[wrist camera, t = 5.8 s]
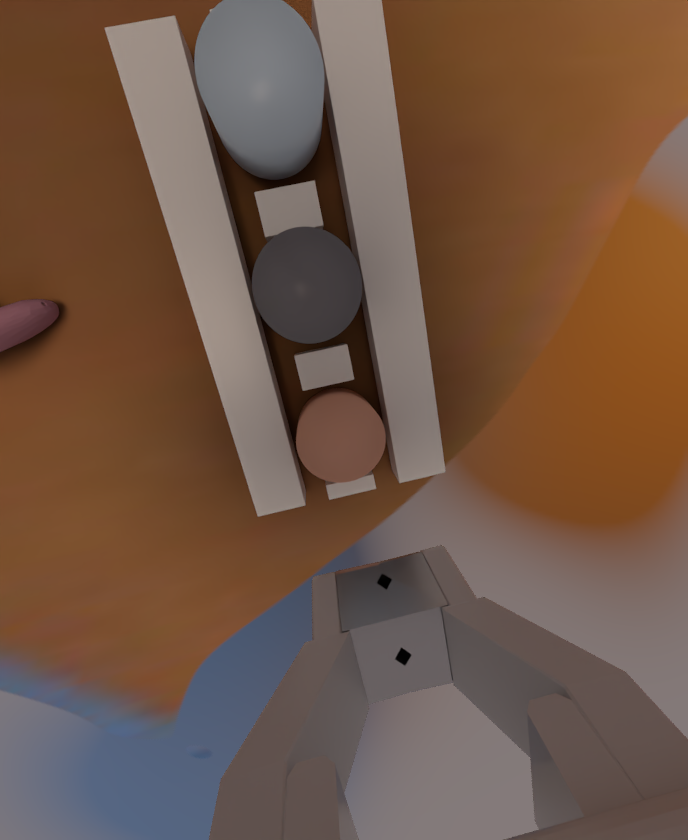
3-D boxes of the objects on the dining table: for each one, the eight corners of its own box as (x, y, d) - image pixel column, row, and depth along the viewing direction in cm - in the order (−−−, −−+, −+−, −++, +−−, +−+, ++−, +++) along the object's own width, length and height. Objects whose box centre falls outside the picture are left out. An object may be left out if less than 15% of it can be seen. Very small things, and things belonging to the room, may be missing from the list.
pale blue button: (200, 65, 15) (175, 4, 13) (308, 45, 16) (308, -19, 13) (232, 188, 17) (216, 159, 14) (331, 169, 17) (336, 136, 14)
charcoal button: (249, 253, 18) (238, 238, 15) (344, 234, 18) (350, 216, 15) (274, 350, 19) (268, 353, 16) (361, 331, 19) (371, 331, 16)
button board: (128, 63, 16) (104, 27, 14) (370, 20, 17) (378, -21, 15) (262, 501, 23) (257, 516, 21) (434, 460, 23) (445, 472, 21)
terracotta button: (289, 397, 21) (285, 408, 18) (368, 380, 21) (377, 387, 18) (308, 470, 22) (307, 491, 19) (381, 453, 22) (392, 471, 20)
